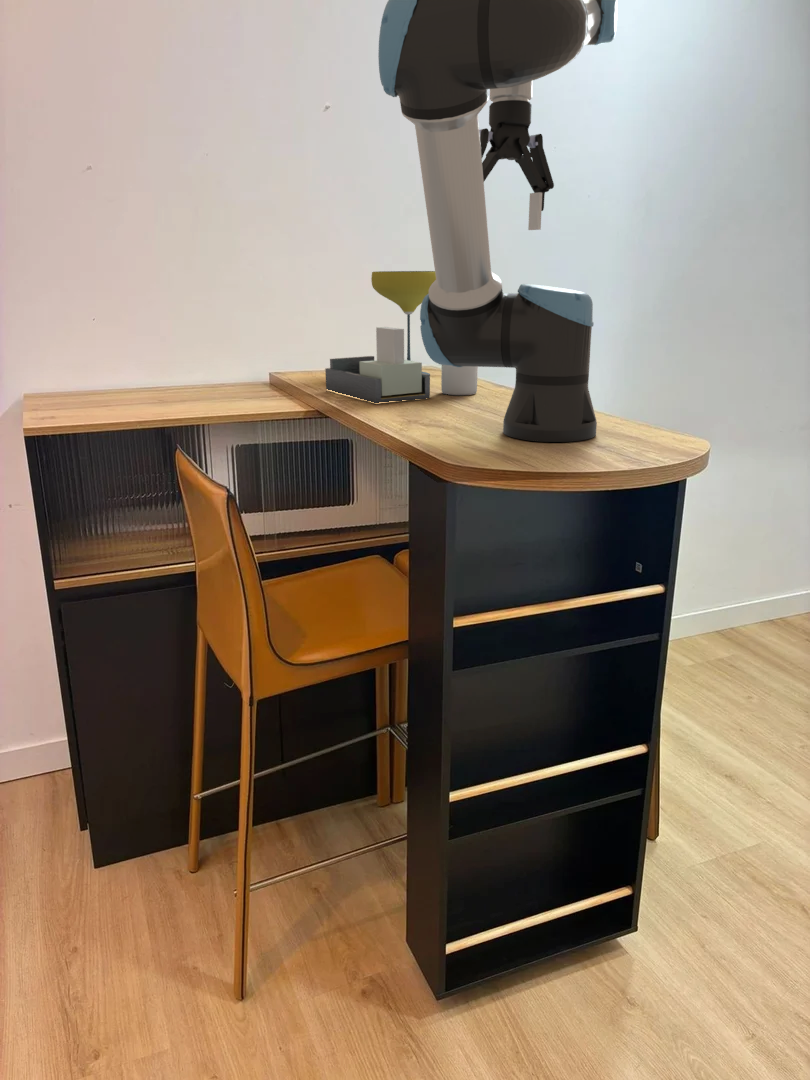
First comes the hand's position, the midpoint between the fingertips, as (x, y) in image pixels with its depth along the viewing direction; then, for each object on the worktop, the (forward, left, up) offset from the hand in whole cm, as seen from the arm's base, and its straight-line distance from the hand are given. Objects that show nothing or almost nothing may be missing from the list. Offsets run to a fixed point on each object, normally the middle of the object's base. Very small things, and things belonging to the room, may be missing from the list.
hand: (506, 229), depth 153 cm
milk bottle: (+16, +6, -33) cm, 37 cm away
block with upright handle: (+11, +21, -31) cm, 39 cm away
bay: (+16, +24, -33) cm, 44 cm away
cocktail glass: (+48, +14, -33) cm, 60 cm away
